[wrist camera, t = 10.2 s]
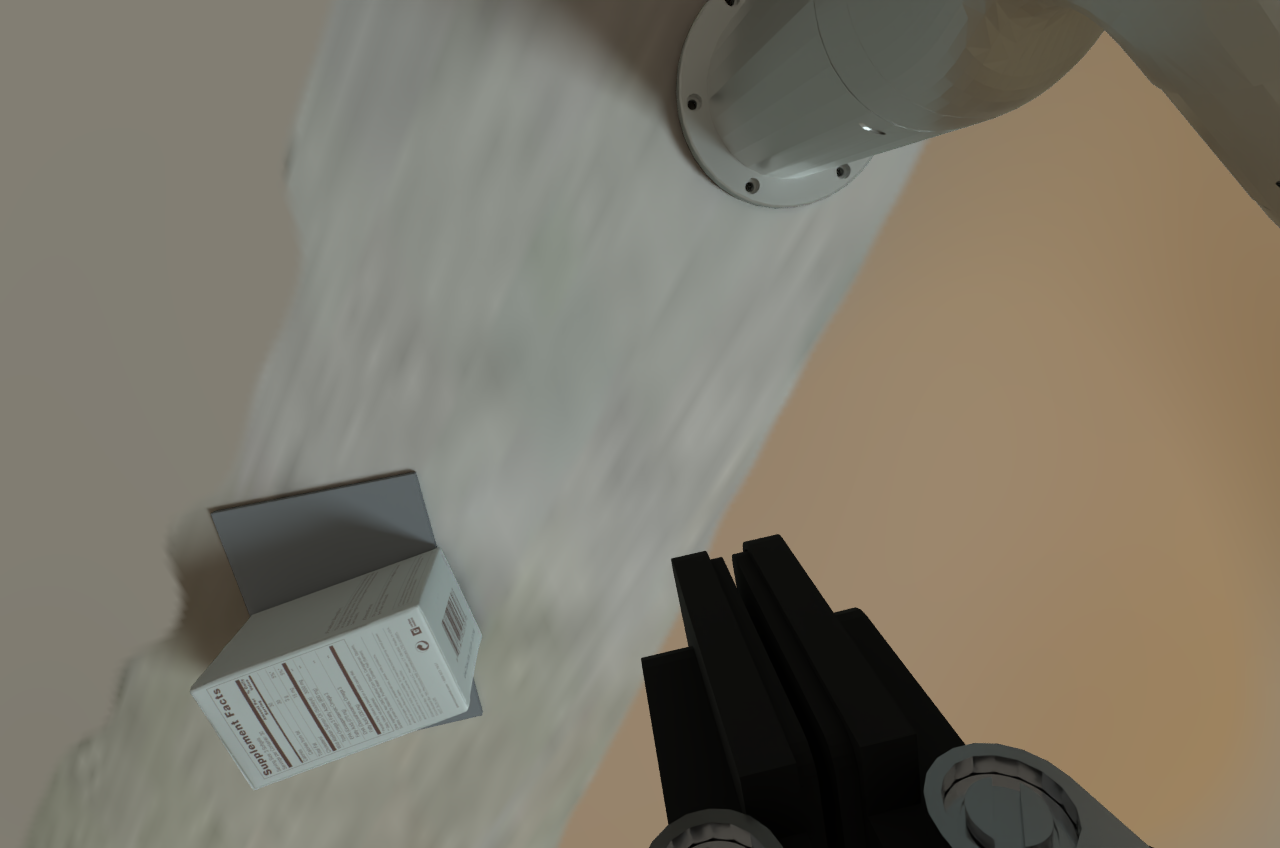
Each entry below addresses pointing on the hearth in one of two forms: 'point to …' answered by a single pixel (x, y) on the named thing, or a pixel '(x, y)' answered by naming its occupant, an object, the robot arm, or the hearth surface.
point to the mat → (326, 542)
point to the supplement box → (343, 669)
